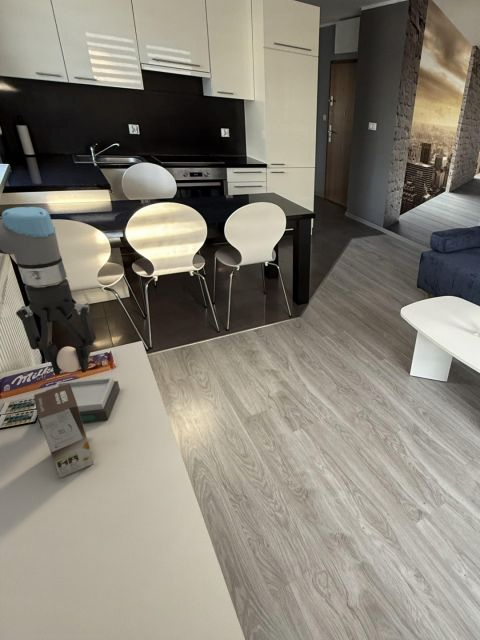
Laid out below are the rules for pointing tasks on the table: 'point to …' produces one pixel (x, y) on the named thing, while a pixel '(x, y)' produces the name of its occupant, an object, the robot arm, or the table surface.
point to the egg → (68, 359)
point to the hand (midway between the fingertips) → (72, 370)
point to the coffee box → (63, 429)
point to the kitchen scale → (94, 398)
